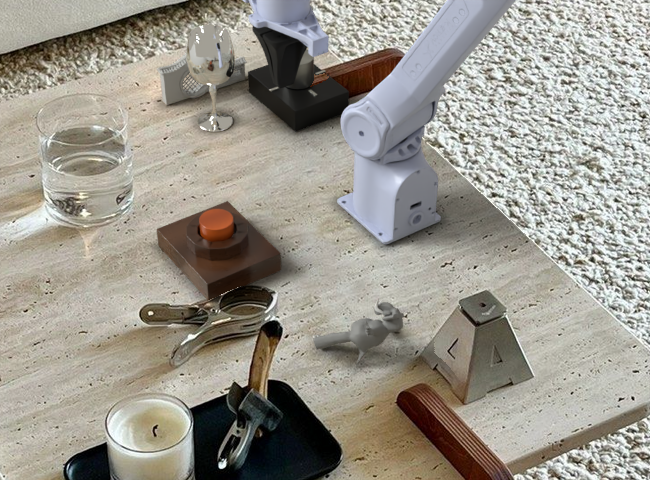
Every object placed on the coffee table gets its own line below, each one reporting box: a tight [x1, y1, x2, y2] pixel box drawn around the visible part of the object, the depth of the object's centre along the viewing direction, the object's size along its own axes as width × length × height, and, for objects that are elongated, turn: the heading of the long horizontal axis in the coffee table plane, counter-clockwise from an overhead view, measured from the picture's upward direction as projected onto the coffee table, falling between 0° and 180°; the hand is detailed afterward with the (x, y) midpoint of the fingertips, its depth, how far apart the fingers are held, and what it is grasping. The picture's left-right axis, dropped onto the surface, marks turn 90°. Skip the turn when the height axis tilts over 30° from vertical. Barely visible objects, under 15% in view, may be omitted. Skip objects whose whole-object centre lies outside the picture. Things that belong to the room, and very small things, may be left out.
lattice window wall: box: [156, 51, 248, 106], centre depth 150 cm, size 12×2×6 cm, turn 122°
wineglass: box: [186, 24, 236, 133], centre depth 143 cm, size 6×6×12 cm
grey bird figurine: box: [312, 298, 405, 366], centre depth 116 cm, size 10×6×9 cm
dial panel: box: [247, 63, 350, 133], centre depth 149 cm, size 11×8×3 cm
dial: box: [286, 48, 315, 89], centre depth 147 cm, size 4×4×4 cm
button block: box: [156, 200, 282, 301], centre depth 127 cm, size 11×9×4 cm
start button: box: [199, 209, 234, 242], centre depth 126 cm, size 4×4×2 cm
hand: (283, 83), depth 134 cm, fingers closed
